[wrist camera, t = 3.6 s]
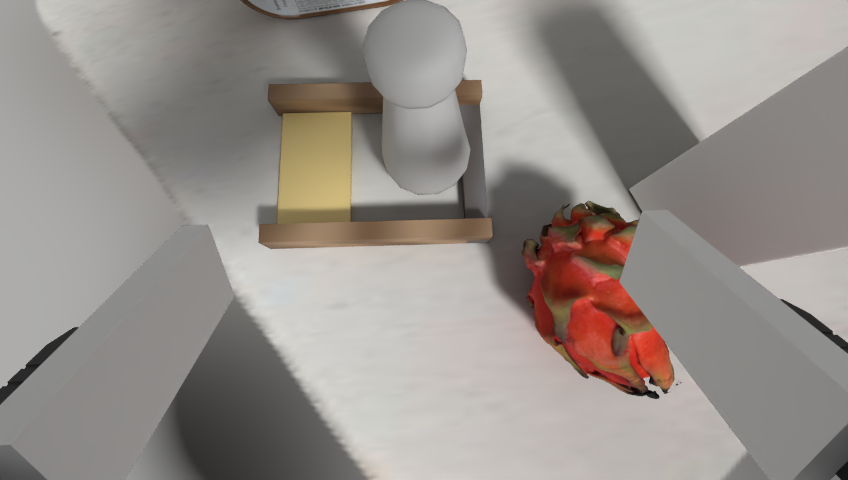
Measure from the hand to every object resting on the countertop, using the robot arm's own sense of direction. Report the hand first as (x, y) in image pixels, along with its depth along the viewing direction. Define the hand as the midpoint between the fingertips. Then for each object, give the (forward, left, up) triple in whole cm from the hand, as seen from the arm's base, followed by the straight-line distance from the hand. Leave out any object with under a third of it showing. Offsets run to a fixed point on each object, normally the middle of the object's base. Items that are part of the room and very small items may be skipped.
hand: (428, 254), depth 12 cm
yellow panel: (+7, -9, -14) cm, 18 cm away
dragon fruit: (-11, +1, -14) cm, 18 cm away
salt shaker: (-1, -9, -14) cm, 17 cm away
